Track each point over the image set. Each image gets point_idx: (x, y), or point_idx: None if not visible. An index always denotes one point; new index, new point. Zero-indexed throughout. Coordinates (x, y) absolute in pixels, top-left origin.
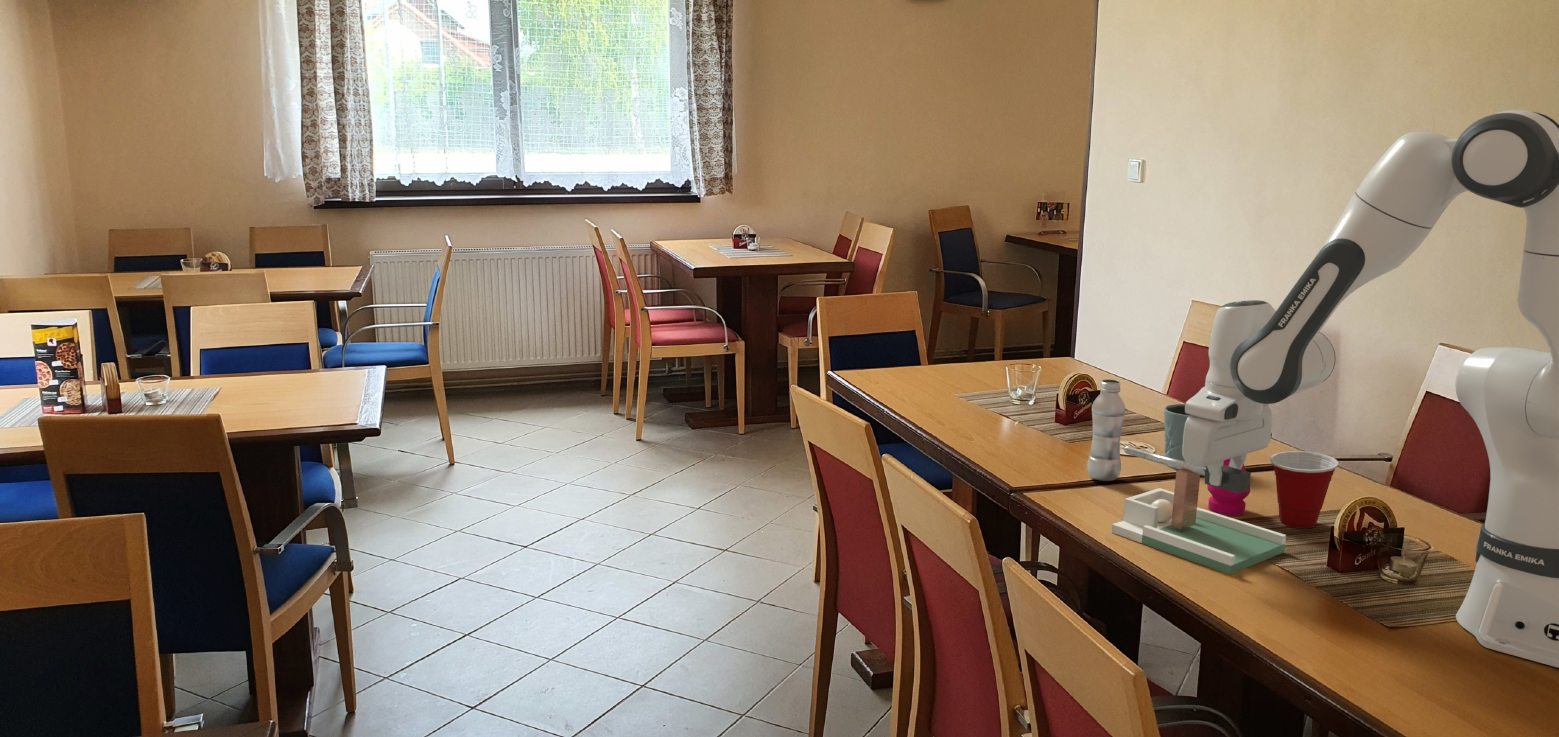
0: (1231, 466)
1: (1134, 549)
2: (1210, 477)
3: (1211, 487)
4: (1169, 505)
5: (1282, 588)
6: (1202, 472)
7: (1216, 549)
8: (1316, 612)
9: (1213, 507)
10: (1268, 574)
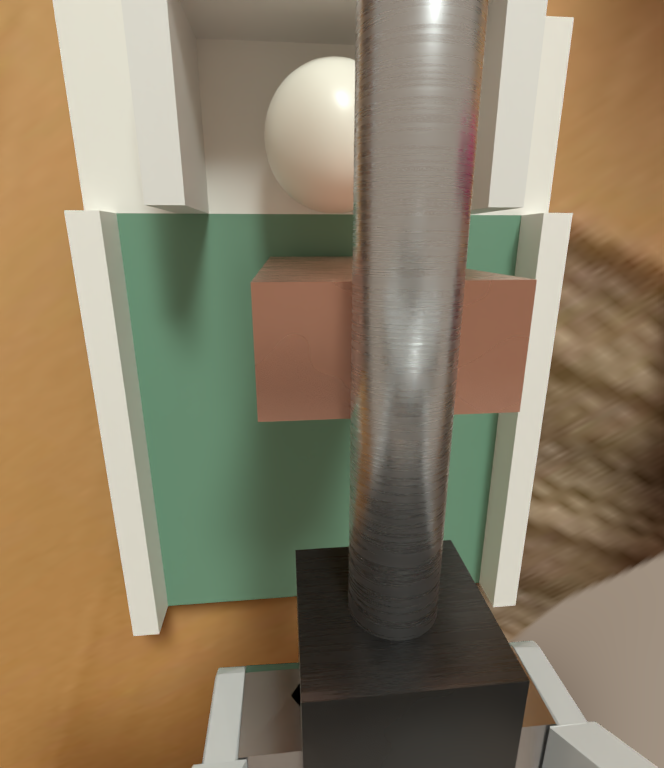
0: (564, 766)
1: (10, 243)
2: (209, 724)
3: None
4: (336, 187)
5: (208, 699)
6: (349, 550)
7: (144, 570)
8: None
9: None
10: (269, 631)
